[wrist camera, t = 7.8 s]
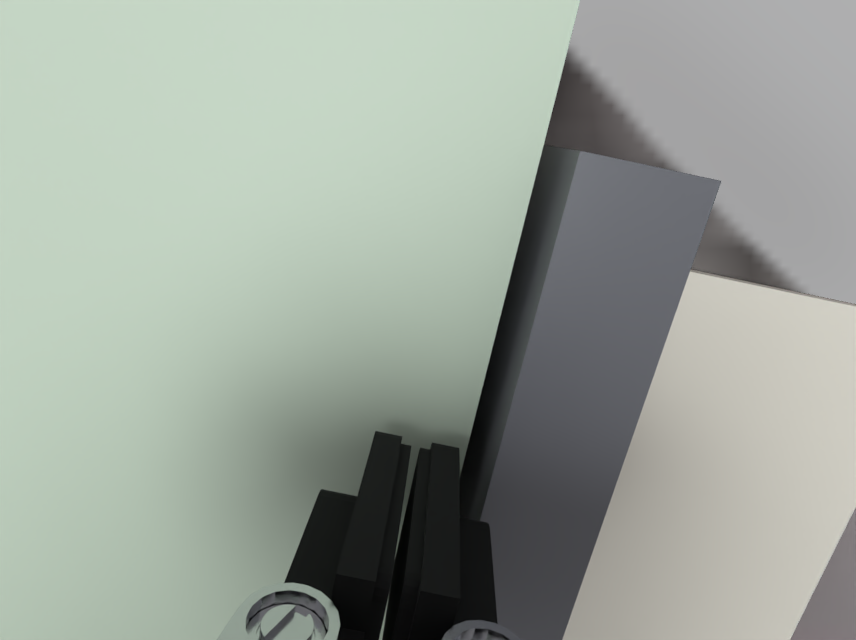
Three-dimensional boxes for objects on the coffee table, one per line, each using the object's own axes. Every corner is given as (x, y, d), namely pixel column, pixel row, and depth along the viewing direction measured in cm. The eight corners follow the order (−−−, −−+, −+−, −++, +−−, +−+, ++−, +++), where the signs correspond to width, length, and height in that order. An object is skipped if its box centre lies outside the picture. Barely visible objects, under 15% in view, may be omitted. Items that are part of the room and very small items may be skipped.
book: (383, 709, 19) (365, 850, 16) (-74, 619, 19) (-205, 739, 15) (564, -45, 13) (610, -119, 9) (-130, -197, 13) (-385, -340, 9)
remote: (419, 623, 18) (501, 639, 18) (405, 791, 13) (515, 813, 13) (538, 144, 14) (645, 167, 14) (580, 150, 9) (740, 184, 9)
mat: (722, 753, 19) (728, 765, 19) (404, 689, 19) (403, 700, 19) (932, 320, 15) (946, 325, 14) (519, 233, 15) (521, 235, 14)
